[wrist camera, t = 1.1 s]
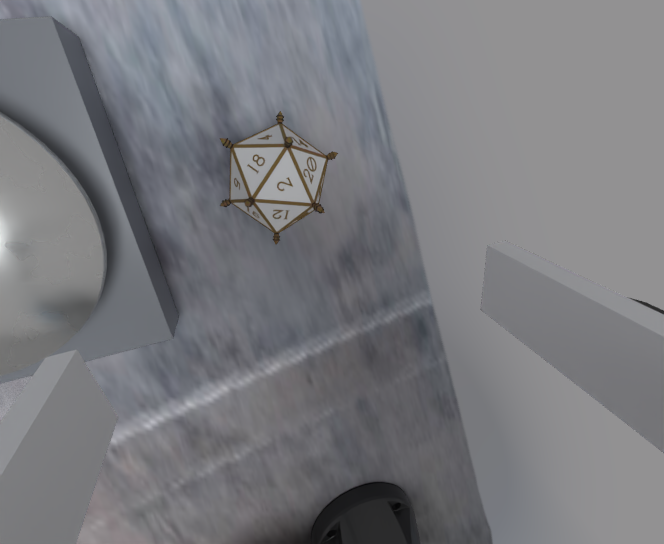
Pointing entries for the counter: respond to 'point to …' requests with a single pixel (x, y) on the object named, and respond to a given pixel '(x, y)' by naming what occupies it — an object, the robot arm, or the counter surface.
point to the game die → (276, 177)
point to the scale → (87, 183)
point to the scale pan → (43, 250)
